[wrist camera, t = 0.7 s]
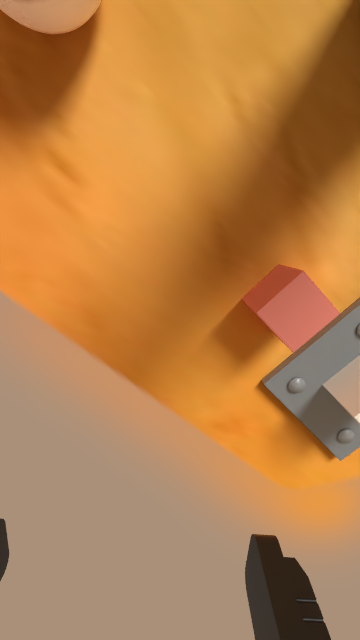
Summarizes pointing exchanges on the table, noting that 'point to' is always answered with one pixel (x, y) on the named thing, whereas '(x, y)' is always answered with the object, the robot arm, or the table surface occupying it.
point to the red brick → (290, 306)
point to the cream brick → (347, 388)
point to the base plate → (321, 382)
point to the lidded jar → (50, 13)
